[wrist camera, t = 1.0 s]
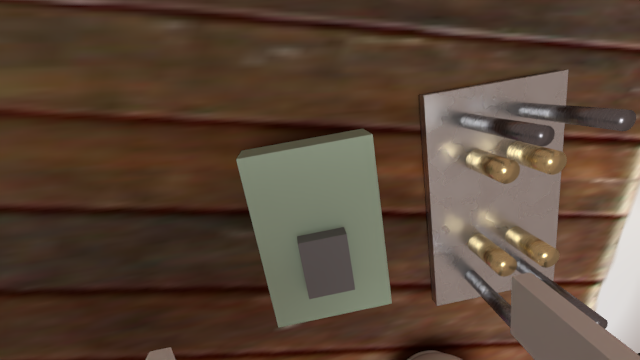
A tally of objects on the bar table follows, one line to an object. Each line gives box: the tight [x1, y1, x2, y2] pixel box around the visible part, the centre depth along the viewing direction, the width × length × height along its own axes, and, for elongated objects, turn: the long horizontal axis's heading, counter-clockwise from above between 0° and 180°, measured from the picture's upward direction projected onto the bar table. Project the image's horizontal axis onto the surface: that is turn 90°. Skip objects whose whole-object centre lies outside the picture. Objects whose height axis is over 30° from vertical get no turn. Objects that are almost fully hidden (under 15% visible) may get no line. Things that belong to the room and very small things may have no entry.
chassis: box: [419, 70, 636, 329], centre depth 25 cm, size 12×20×9 cm, turn 9°
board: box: [236, 129, 392, 328], centre depth 21 cm, size 8×12×4 cm, turn 9°
